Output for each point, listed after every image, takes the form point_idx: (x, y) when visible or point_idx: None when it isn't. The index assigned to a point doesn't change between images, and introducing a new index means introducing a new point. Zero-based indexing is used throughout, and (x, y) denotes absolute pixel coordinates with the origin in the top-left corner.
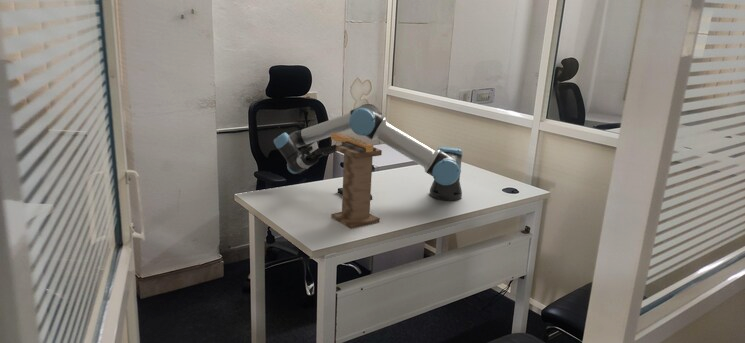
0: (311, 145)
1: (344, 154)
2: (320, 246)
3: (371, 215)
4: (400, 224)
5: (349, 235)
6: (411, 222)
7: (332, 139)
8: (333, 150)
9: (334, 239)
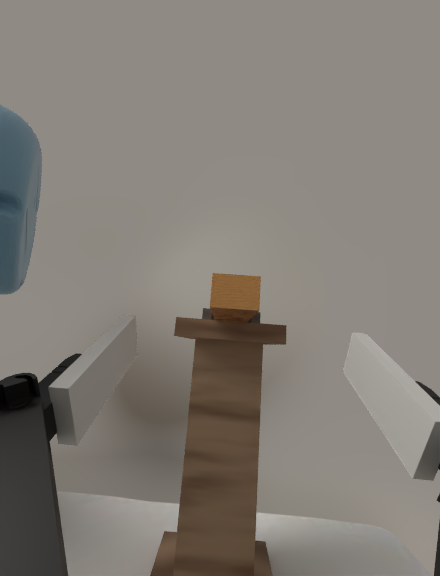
0: (402, 376)
1: (262, 352)
2: (372, 528)
3: (162, 558)
4: (136, 511)
5: (286, 532)
6: (105, 506)
7: (257, 311)
8: (56, 497)
9: (331, 535)
